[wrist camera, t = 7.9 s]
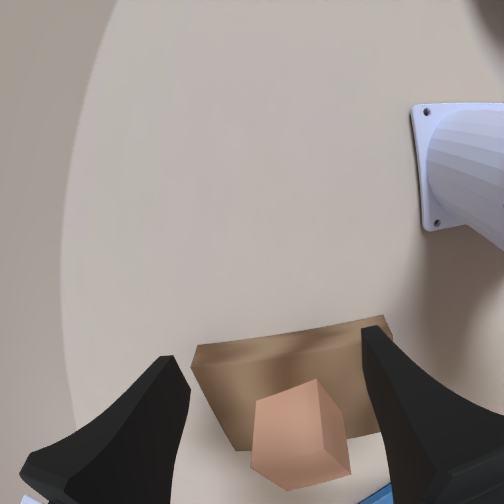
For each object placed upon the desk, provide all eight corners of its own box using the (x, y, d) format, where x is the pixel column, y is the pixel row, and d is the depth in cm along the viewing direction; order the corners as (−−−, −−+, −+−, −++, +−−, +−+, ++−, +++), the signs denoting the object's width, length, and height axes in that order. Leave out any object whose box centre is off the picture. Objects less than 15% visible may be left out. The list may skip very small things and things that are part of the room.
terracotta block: (316, 378, 20) (323, 448, 15) (341, 412, 22) (351, 474, 17) (256, 400, 22) (250, 467, 16) (287, 431, 23) (287, 490, 18)
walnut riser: (382, 314, 21) (392, 335, 19) (379, 411, 25) (384, 430, 23) (197, 345, 23) (190, 367, 21) (238, 431, 28) (235, 451, 25)
